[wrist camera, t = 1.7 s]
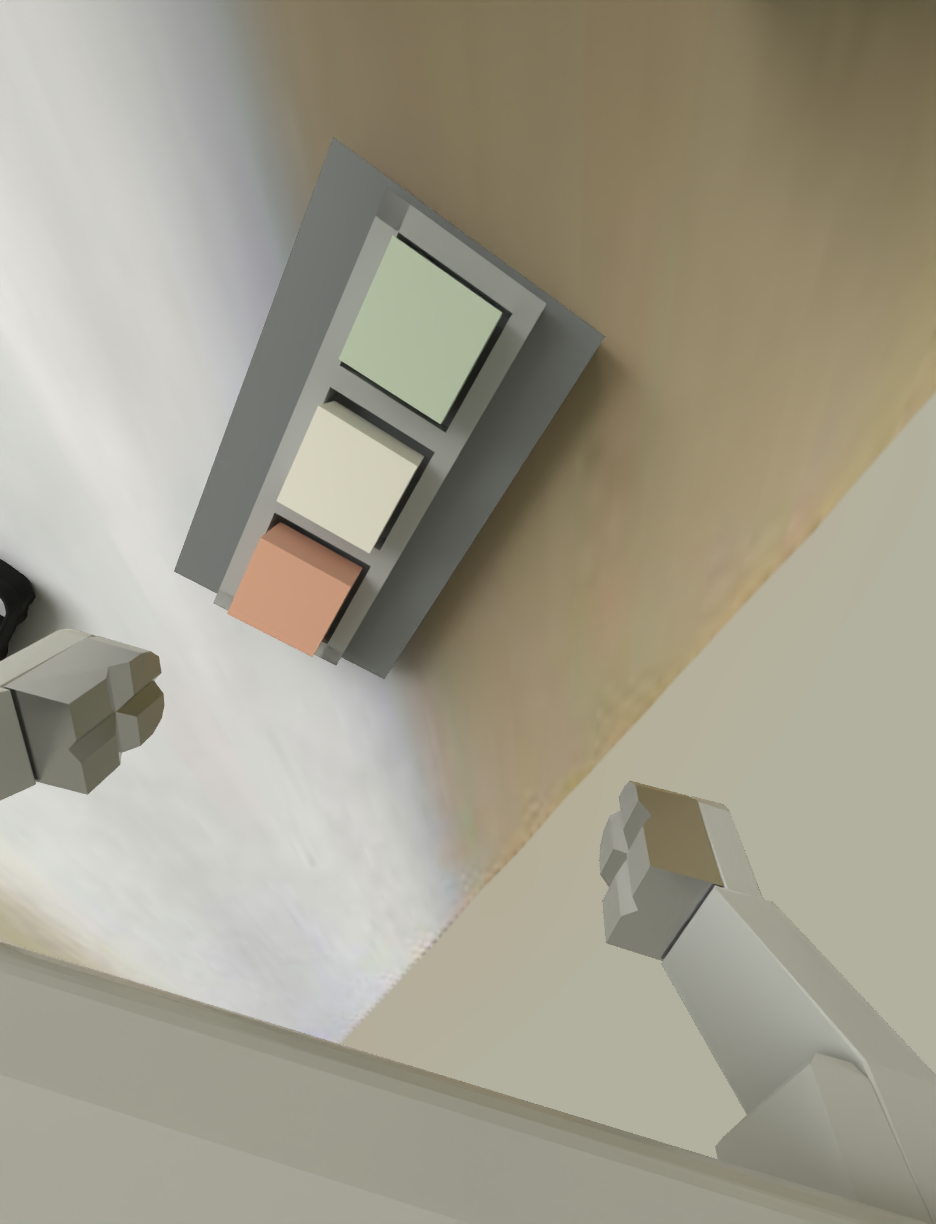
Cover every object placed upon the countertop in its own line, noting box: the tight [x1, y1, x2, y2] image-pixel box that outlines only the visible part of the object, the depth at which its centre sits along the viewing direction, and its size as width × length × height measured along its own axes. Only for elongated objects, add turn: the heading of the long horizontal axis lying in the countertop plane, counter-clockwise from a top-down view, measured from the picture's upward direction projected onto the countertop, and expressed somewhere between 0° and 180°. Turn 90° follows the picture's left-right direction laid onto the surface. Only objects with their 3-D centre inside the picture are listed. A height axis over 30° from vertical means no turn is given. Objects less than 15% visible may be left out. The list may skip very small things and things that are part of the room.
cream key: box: [277, 401, 424, 554], centre depth 28 cm, size 6×6×3 cm
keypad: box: [174, 137, 605, 679], centre depth 31 cm, size 16×26×5 cm, turn 149°
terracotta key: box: [227, 522, 362, 657], centre depth 32 cm, size 6×6×3 cm
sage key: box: [339, 236, 502, 424], centre depth 25 cm, size 6×6×3 cm
